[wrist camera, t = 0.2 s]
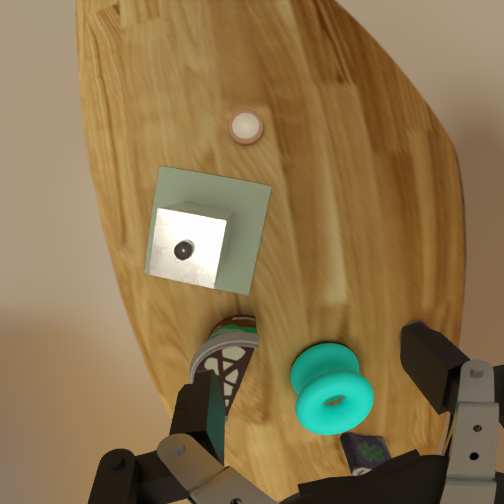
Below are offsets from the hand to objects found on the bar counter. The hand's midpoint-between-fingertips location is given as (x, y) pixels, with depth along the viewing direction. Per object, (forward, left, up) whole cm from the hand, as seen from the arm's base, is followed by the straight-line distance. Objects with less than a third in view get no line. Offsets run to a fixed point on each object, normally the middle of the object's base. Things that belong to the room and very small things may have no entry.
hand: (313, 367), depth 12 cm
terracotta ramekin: (-14, -3, -28) cm, 32 cm away
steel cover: (-2, -9, -28) cm, 29 cm away
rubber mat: (-2, -9, -28) cm, 30 cm away
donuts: (+19, +6, -28) cm, 35 cm away
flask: (+36, +14, -28) cm, 48 cm away
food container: (+13, -8, -28) cm, 32 cm away
